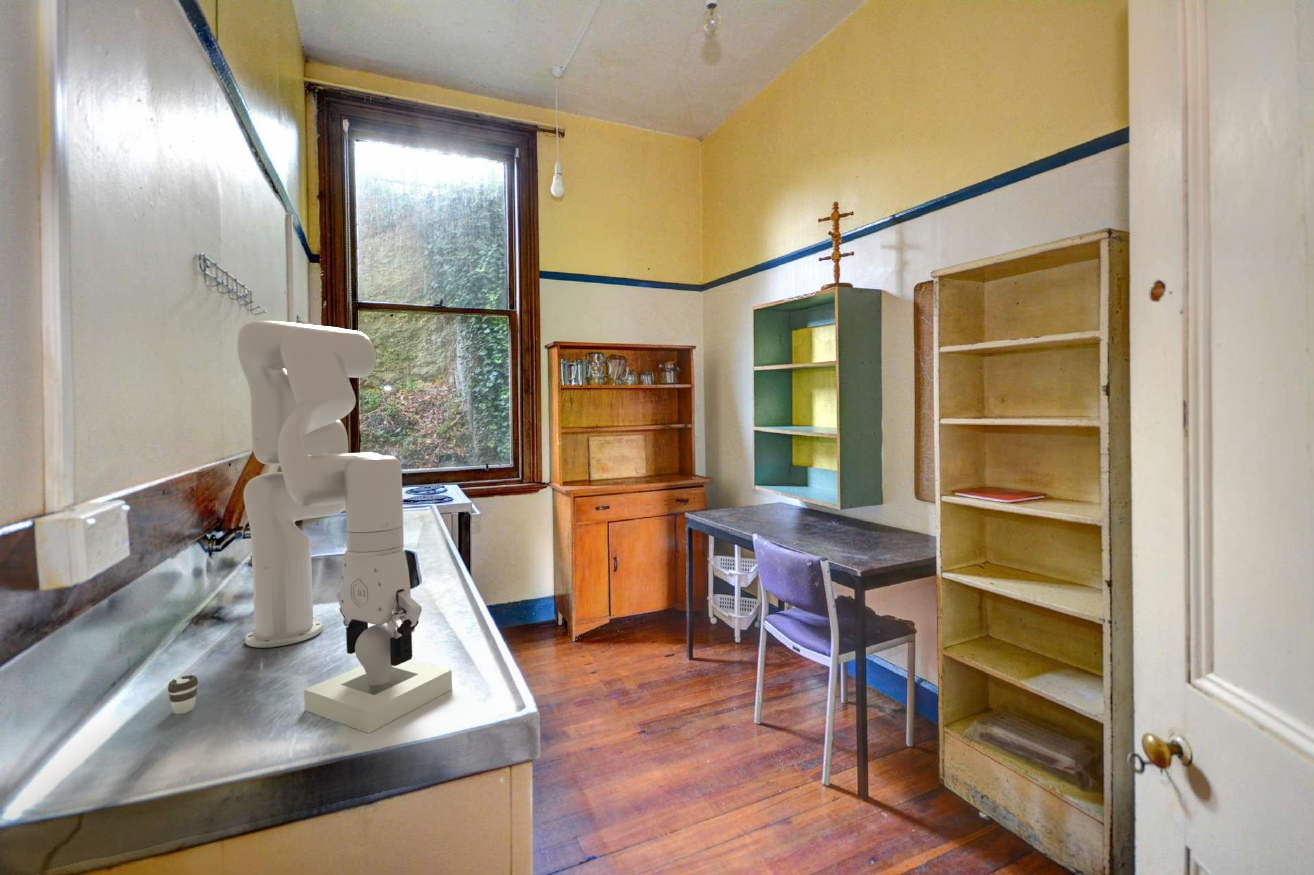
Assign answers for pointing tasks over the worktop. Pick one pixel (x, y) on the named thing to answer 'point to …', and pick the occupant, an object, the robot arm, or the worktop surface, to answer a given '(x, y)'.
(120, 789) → the worktop surface
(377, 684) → the lightbulb
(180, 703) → the coffee cup
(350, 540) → the robot arm
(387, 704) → the socket block
